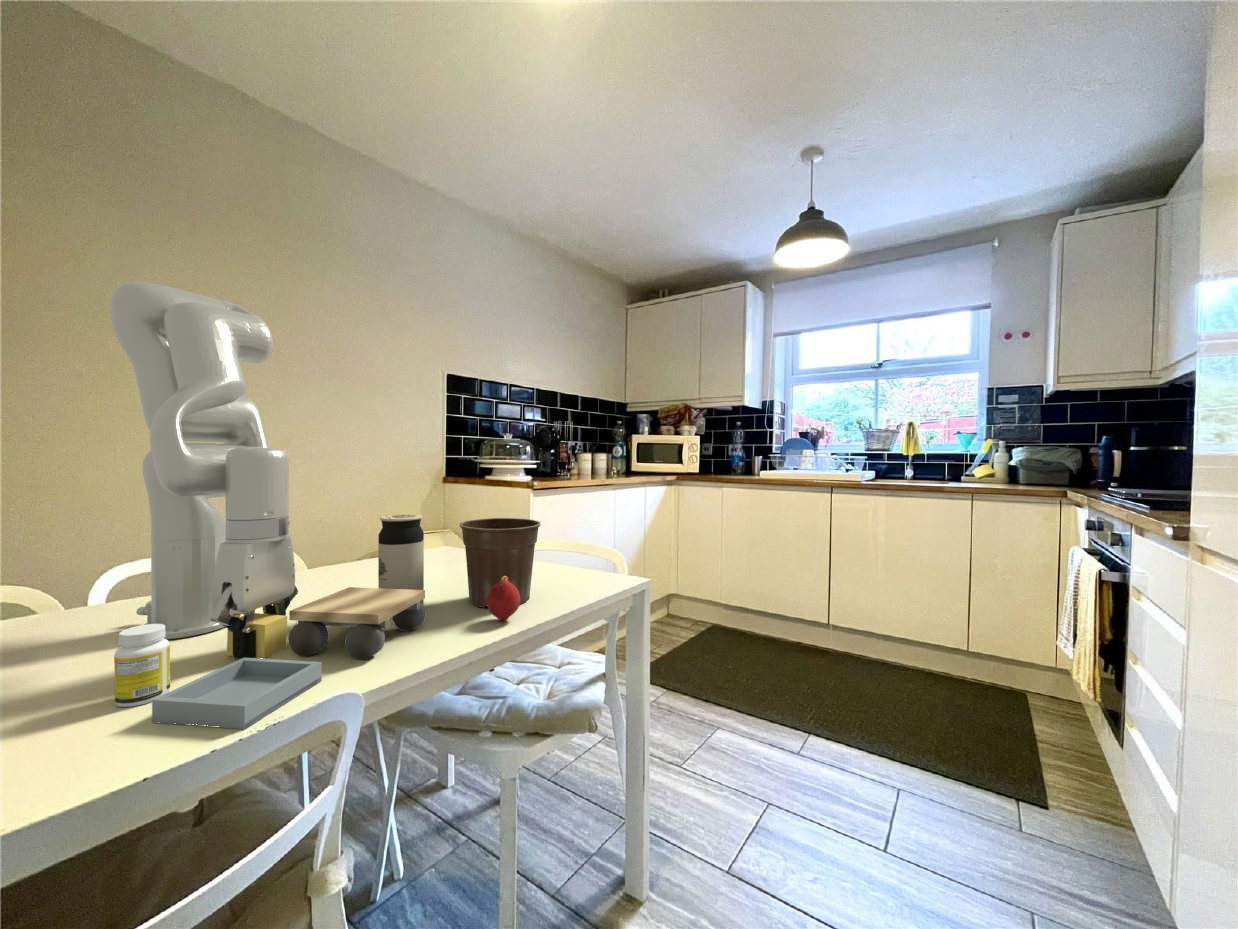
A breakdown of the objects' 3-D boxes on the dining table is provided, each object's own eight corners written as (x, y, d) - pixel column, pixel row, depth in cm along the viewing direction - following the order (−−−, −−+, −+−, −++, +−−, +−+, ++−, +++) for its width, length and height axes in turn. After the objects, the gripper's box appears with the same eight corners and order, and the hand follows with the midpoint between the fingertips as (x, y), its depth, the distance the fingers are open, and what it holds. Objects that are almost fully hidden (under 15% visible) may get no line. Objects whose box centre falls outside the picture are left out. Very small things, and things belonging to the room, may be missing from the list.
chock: (226, 655, 69) (227, 621, 69) (250, 644, 73) (251, 612, 73) (264, 659, 69) (265, 624, 69) (286, 648, 73) (287, 615, 73)
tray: (152, 722, 52) (152, 700, 52) (243, 676, 63) (243, 657, 63) (244, 729, 51) (244, 706, 51) (321, 681, 62) (321, 662, 62)
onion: (511, 627, 82) (511, 581, 82) (481, 625, 83) (481, 579, 83) (525, 616, 88) (525, 573, 88) (496, 614, 89) (496, 572, 89)
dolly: (288, 655, 70) (288, 611, 70) (349, 624, 83) (349, 587, 83) (377, 660, 68) (377, 615, 68) (425, 628, 81) (425, 589, 81)
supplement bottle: (140, 689, 59) (140, 622, 59) (180, 687, 60) (180, 621, 60) (102, 709, 55) (101, 636, 55) (146, 707, 55) (146, 635, 55)
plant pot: (556, 599, 99) (556, 522, 98) (489, 618, 86) (489, 530, 86) (509, 585, 109) (510, 516, 109) (444, 601, 97) (444, 522, 97)
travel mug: (421, 600, 97) (421, 513, 97) (425, 612, 90) (425, 517, 90) (378, 606, 93) (378, 515, 93) (378, 618, 86) (378, 519, 86)
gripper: (281, 522, 79) (281, 630, 80) (178, 538, 63) (178, 675, 63) (322, 523, 79) (322, 632, 79) (229, 539, 62) (229, 678, 62)
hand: (258, 650), depth 71 cm, fingers closed on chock, 3 cm apart
